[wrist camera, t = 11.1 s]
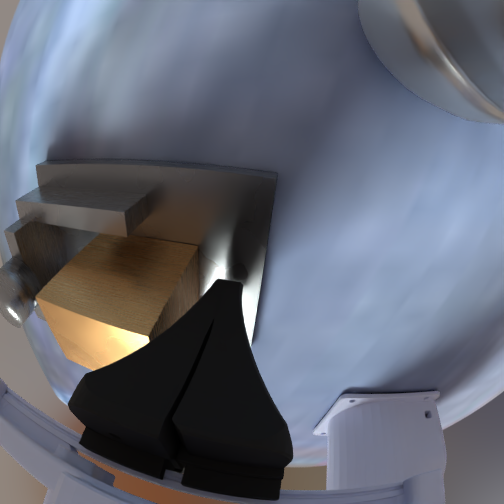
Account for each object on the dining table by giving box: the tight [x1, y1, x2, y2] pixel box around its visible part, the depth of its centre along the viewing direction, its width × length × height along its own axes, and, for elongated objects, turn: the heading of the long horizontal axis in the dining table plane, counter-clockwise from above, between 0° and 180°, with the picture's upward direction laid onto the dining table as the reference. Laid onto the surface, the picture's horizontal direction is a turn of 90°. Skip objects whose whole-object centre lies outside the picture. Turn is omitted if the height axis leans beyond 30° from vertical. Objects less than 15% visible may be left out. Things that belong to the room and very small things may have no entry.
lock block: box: [35, 233, 199, 370], centre depth 10 cm, size 5×4×5 cm
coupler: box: [0, 159, 278, 347], centre depth 11 cm, size 13×10×6 cm
